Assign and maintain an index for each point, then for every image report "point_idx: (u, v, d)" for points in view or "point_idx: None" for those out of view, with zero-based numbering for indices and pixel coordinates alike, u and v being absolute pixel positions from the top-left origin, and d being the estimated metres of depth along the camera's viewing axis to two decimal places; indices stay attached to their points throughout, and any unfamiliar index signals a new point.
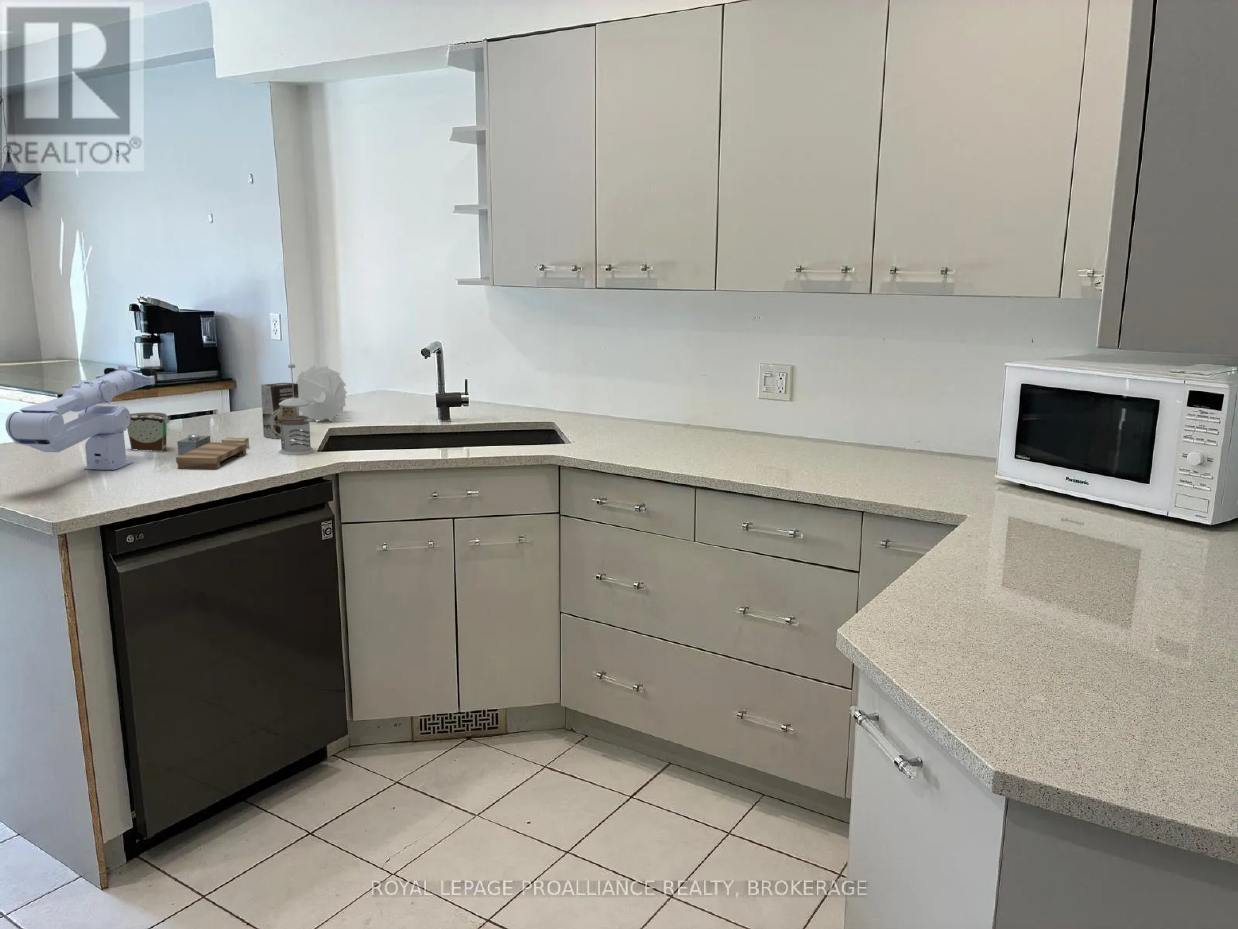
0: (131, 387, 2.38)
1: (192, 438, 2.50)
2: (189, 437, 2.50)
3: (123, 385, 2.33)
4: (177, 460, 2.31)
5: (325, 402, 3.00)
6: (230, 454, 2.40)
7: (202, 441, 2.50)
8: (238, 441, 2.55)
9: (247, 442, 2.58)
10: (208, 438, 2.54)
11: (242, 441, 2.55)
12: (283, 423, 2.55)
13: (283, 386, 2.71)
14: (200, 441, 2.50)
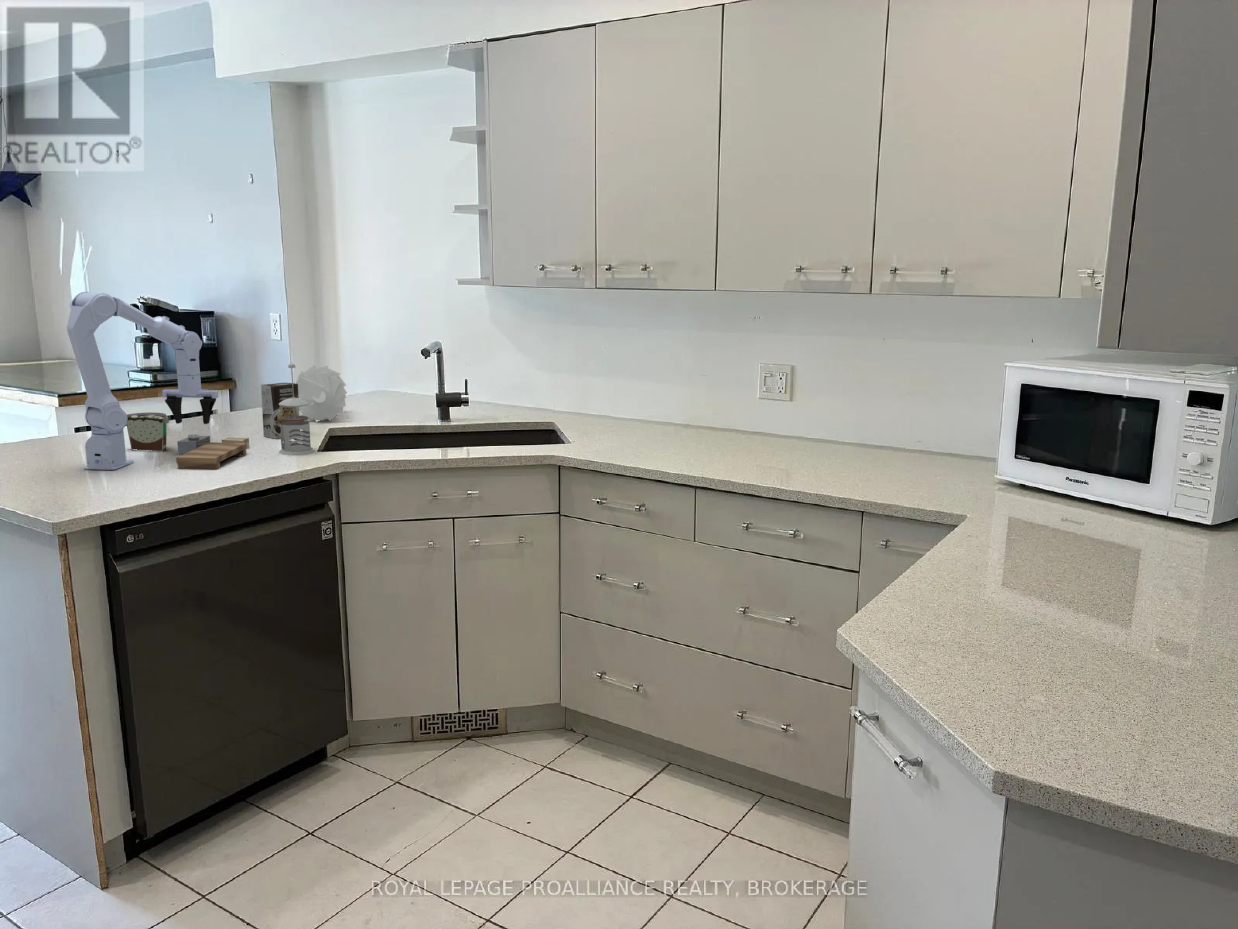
0: (195, 388, 2.46)
1: (192, 438, 2.50)
2: (189, 437, 2.50)
3: (193, 371, 2.45)
4: (177, 460, 2.31)
5: (325, 402, 3.00)
6: (230, 454, 2.40)
7: (202, 441, 2.50)
8: (237, 441, 2.55)
9: (247, 442, 2.58)
10: (208, 438, 2.54)
11: (241, 441, 2.55)
12: (283, 423, 2.55)
13: (283, 386, 2.71)
14: (200, 441, 2.50)
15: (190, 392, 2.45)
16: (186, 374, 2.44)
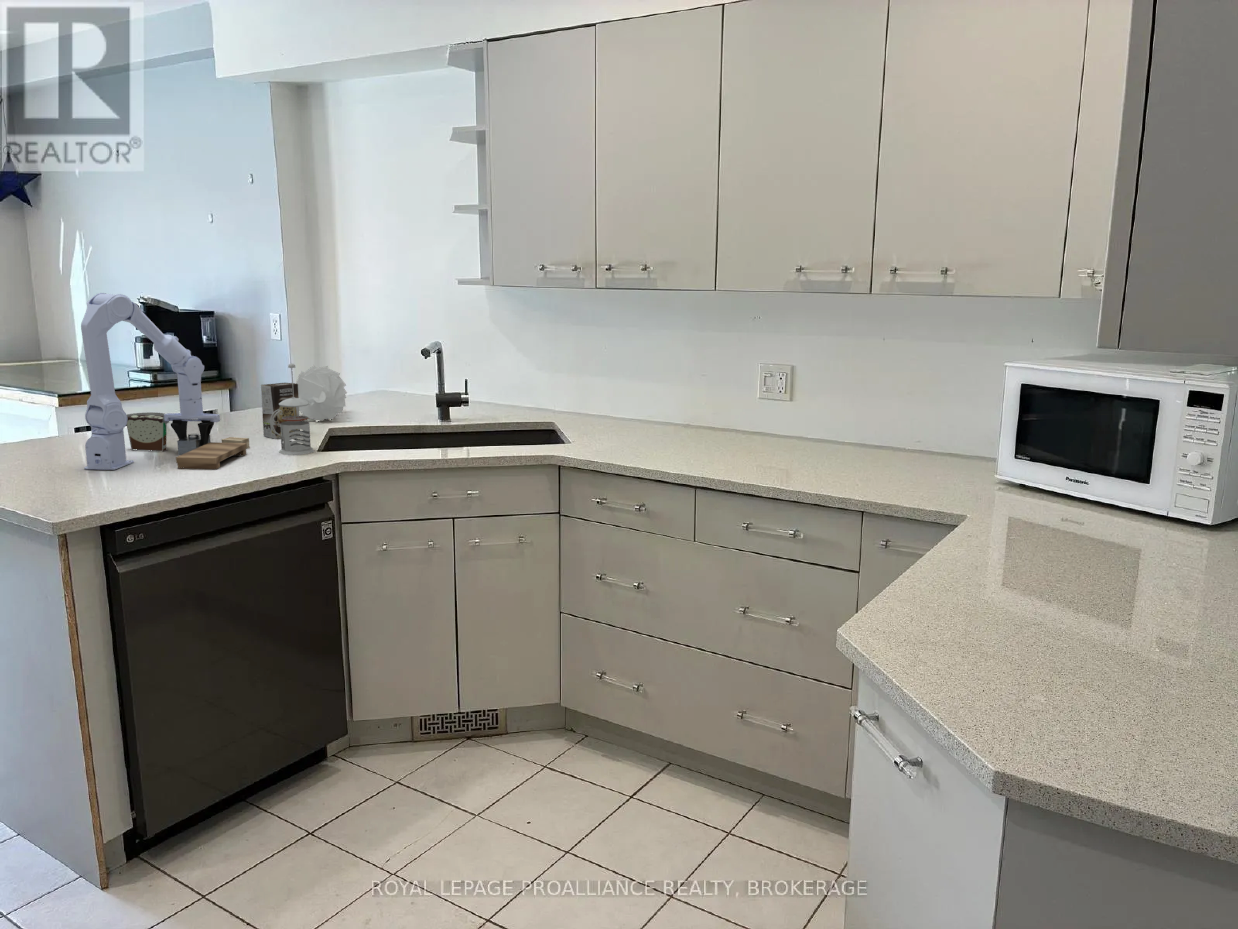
0: (197, 412, 2.48)
1: (192, 437, 2.50)
2: (189, 436, 2.50)
3: (195, 395, 2.47)
4: (177, 460, 2.31)
5: (325, 402, 3.00)
6: (230, 454, 2.40)
7: None
8: (236, 441, 2.55)
9: (247, 442, 2.58)
10: None
11: (240, 441, 2.55)
12: (283, 423, 2.55)
13: (283, 386, 2.71)
14: (200, 440, 2.50)
15: (192, 416, 2.47)
16: (188, 398, 2.46)
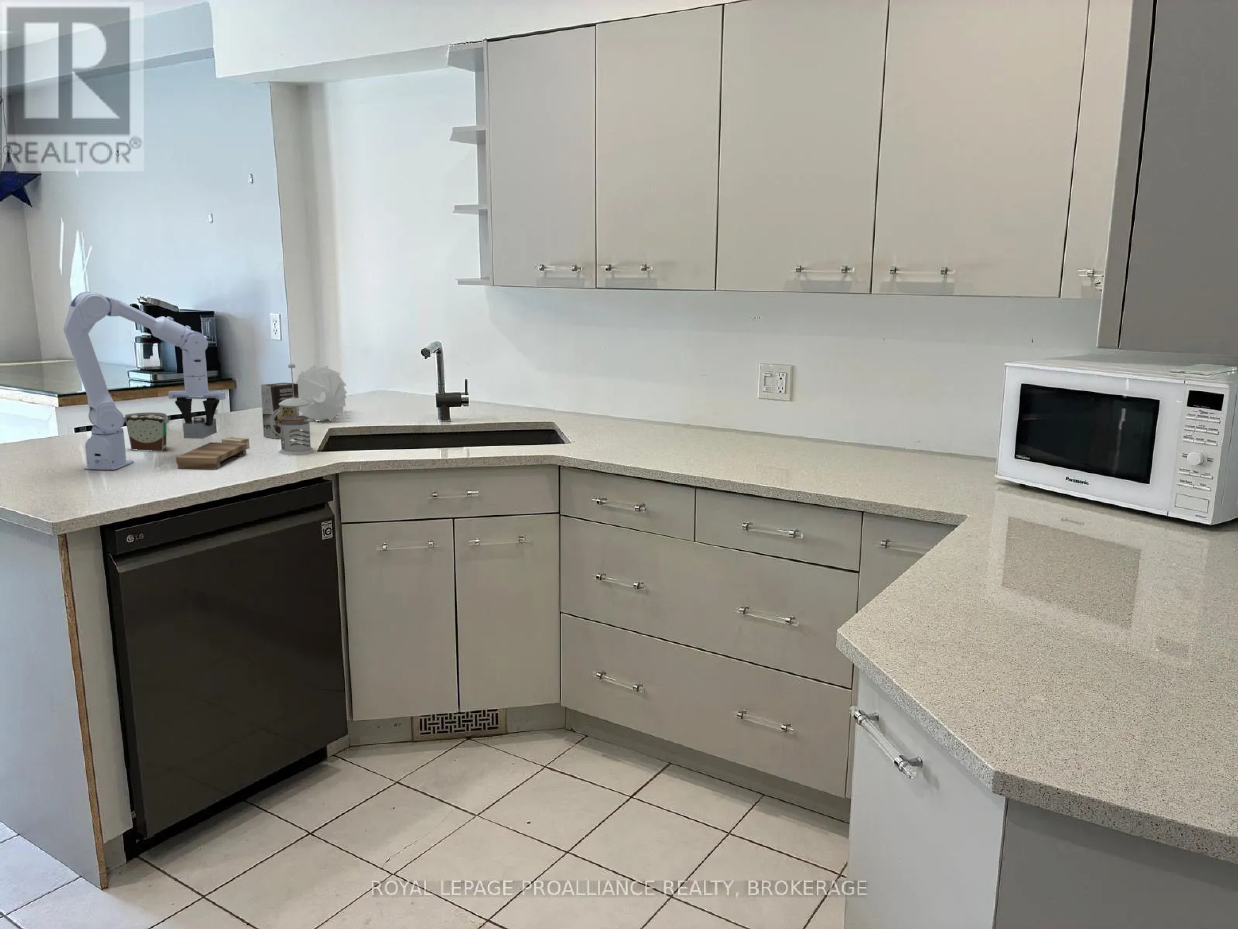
0: (202, 389, 2.42)
1: (198, 420, 2.45)
2: (195, 419, 2.45)
3: (198, 372, 2.41)
4: (177, 460, 2.31)
5: (325, 402, 3.00)
6: (230, 454, 2.40)
7: None
8: (235, 441, 2.55)
9: (246, 443, 2.57)
10: (214, 420, 2.49)
11: (238, 441, 2.55)
12: (283, 423, 2.55)
13: (283, 386, 2.71)
14: None
15: (197, 393, 2.41)
16: (190, 375, 2.40)
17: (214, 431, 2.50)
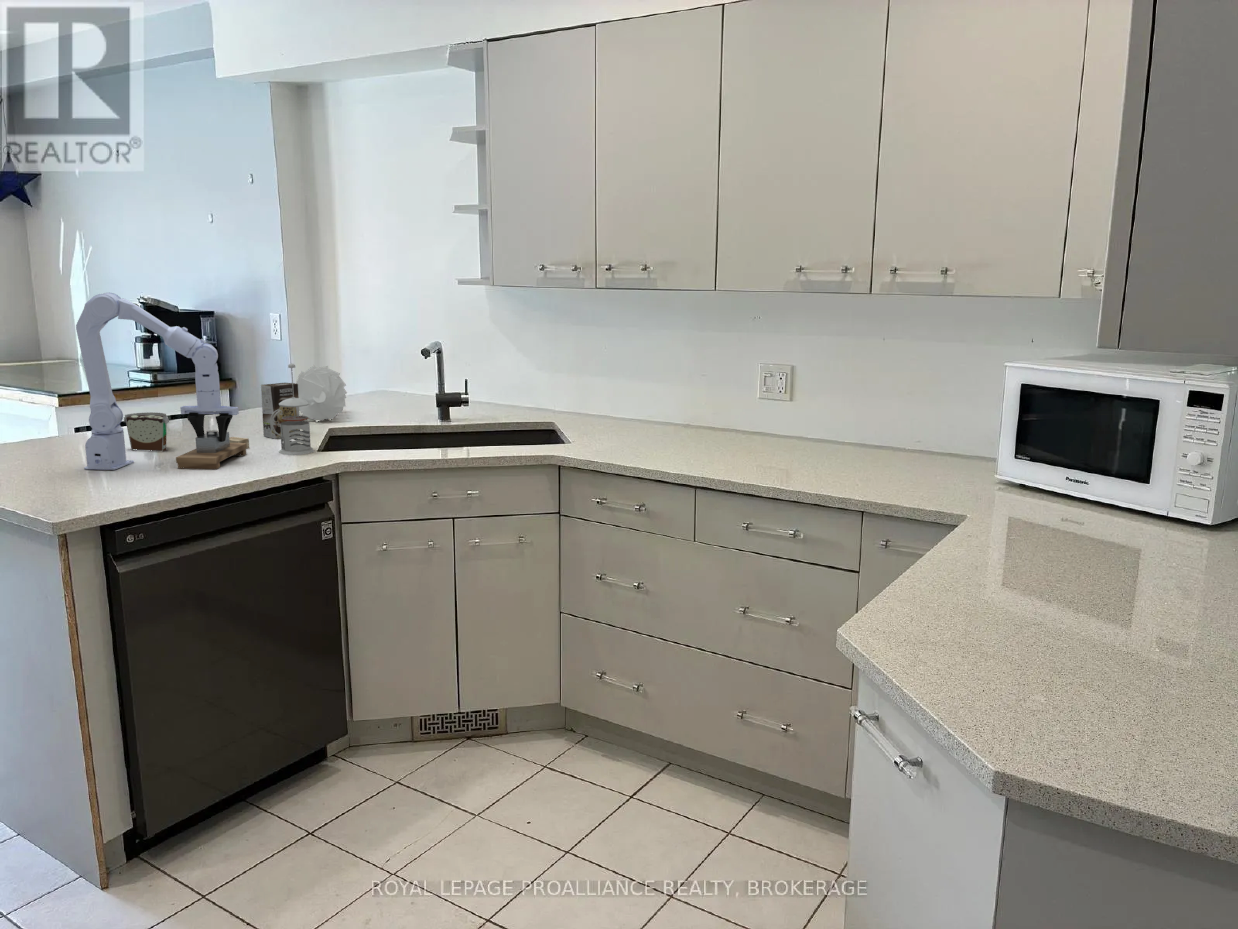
0: (215, 404, 2.36)
1: (211, 434, 2.39)
2: (207, 433, 2.39)
3: (206, 387, 2.34)
4: (177, 460, 2.31)
5: (325, 402, 3.00)
6: (230, 454, 2.40)
7: None
8: (234, 441, 2.55)
9: (246, 443, 2.57)
10: (227, 434, 2.44)
11: (237, 441, 2.54)
12: (283, 423, 2.55)
13: (283, 386, 2.71)
14: None
15: (210, 409, 2.35)
16: (199, 390, 2.34)
17: (227, 445, 2.44)
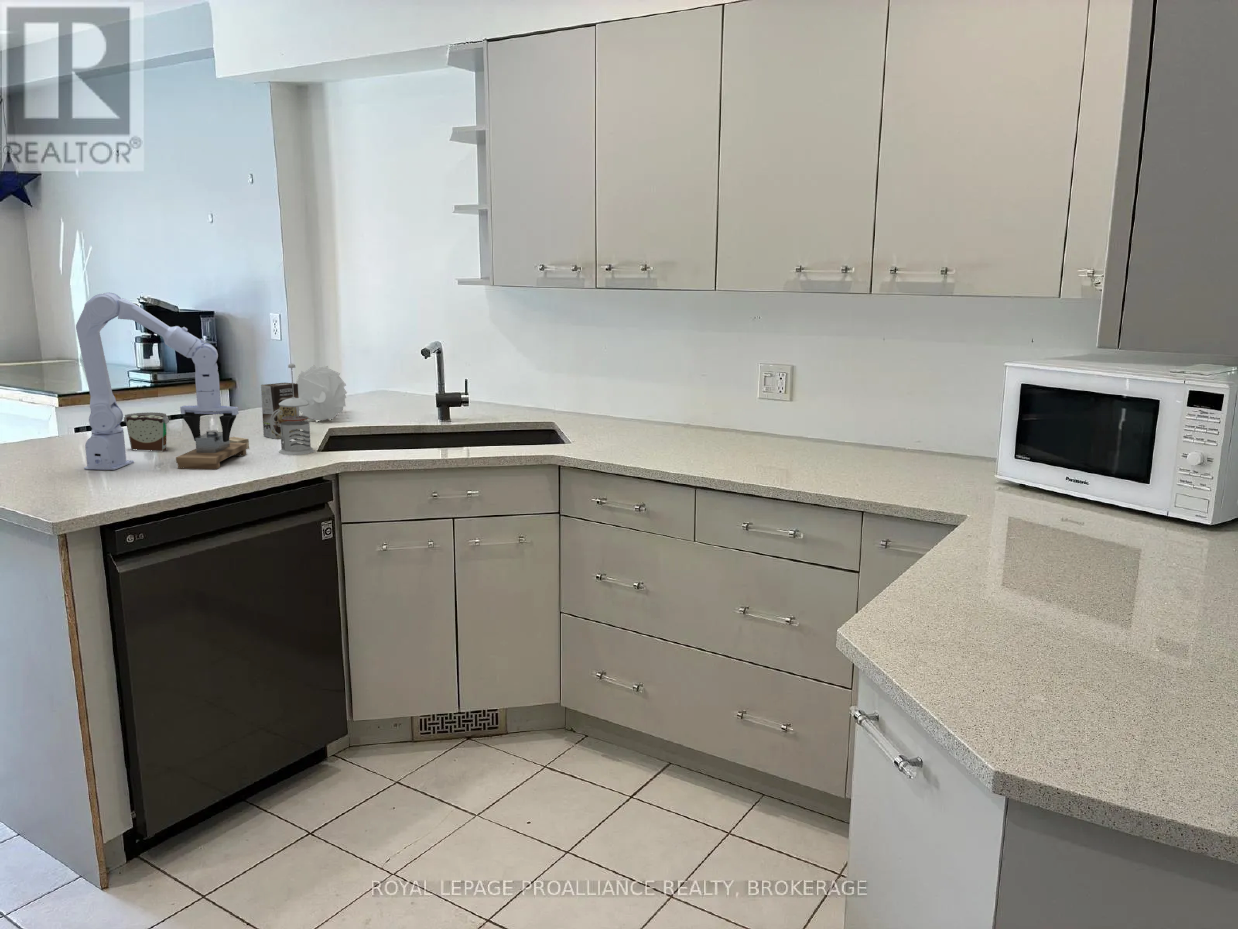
0: (215, 404, 2.36)
1: (210, 434, 2.39)
2: (207, 433, 2.39)
3: (206, 387, 2.34)
4: (177, 460, 2.31)
5: (325, 402, 3.00)
6: (230, 454, 2.40)
7: (220, 437, 2.40)
8: (233, 441, 2.55)
9: None
10: None
11: (236, 442, 2.54)
12: (283, 423, 2.55)
13: (283, 386, 2.71)
14: (219, 437, 2.39)
15: (209, 409, 2.35)
16: (199, 390, 2.34)
17: (227, 445, 2.44)
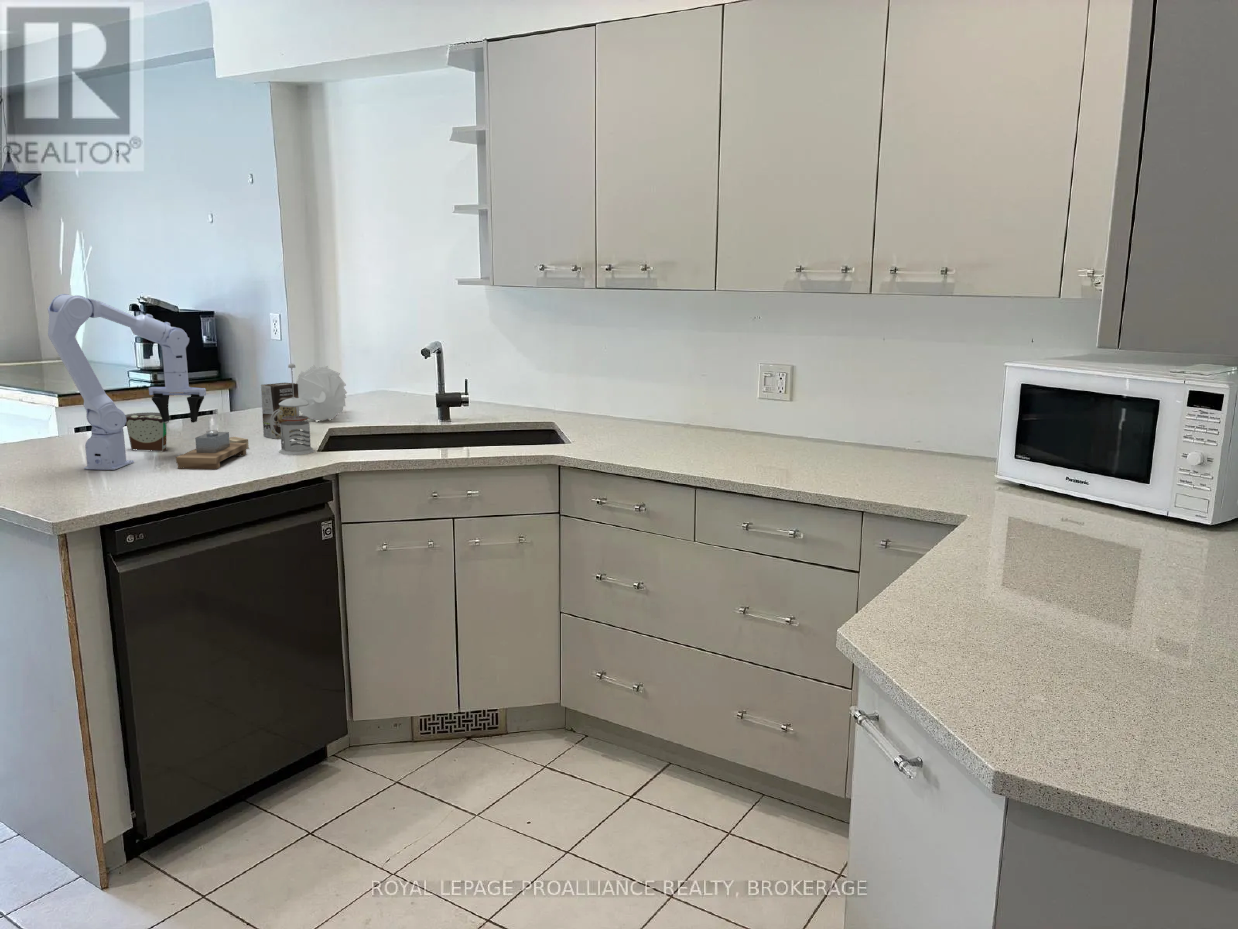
0: (182, 385, 2.41)
1: (210, 434, 2.39)
2: (207, 433, 2.39)
3: (180, 368, 2.40)
4: (177, 460, 2.31)
5: (325, 402, 3.00)
6: (230, 454, 2.40)
7: (220, 437, 2.40)
8: (232, 441, 2.55)
9: None
10: (227, 434, 2.44)
11: (235, 442, 2.54)
12: (283, 423, 2.55)
13: (283, 386, 2.71)
14: (219, 437, 2.39)
15: (177, 390, 2.40)
16: (172, 371, 2.39)
17: (227, 445, 2.44)
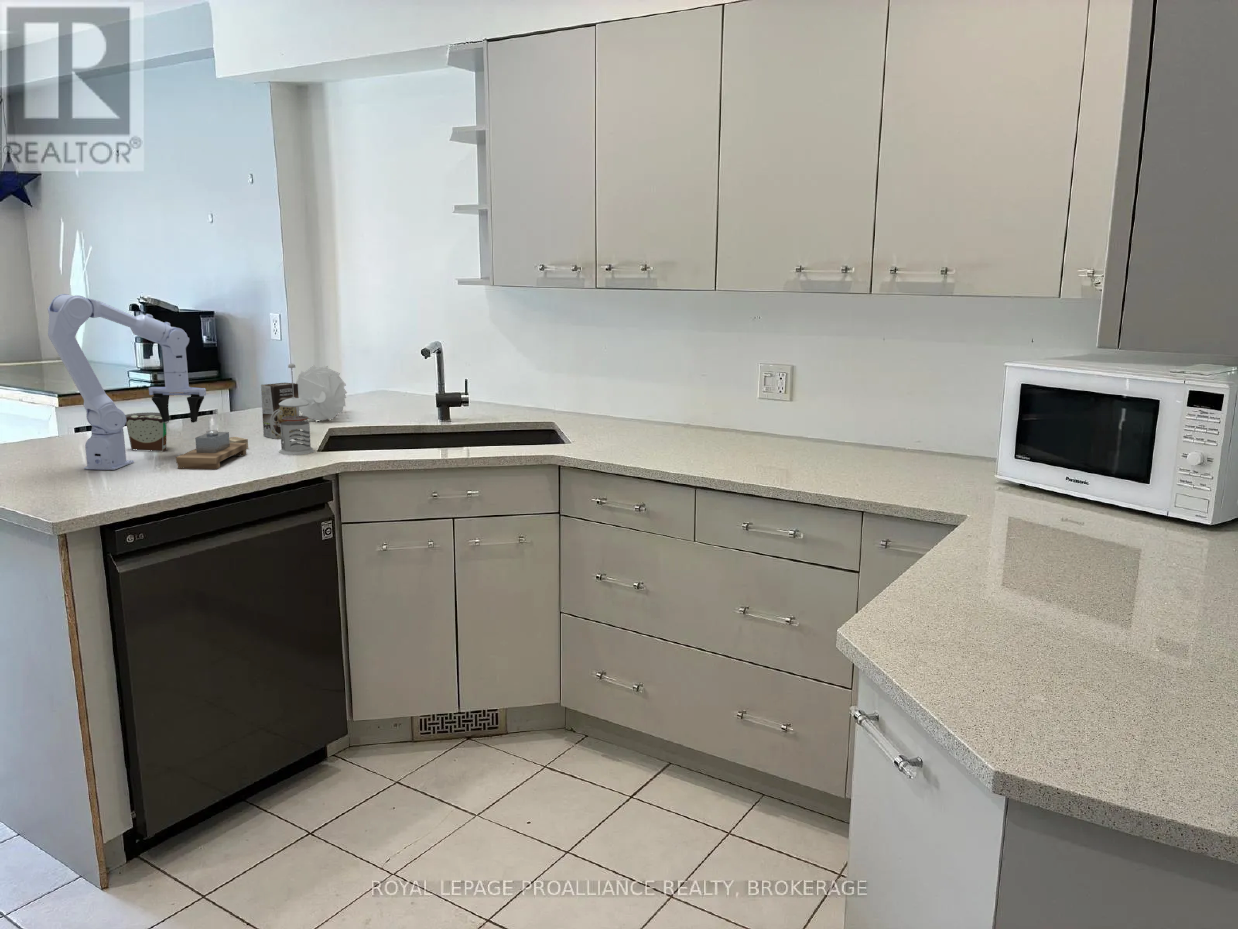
0: (182, 385, 2.41)
1: (210, 434, 2.39)
2: (207, 433, 2.39)
3: (180, 368, 2.40)
4: (177, 460, 2.31)
5: (325, 402, 3.00)
6: (230, 454, 2.40)
7: (220, 437, 2.40)
8: (232, 441, 2.55)
9: None
10: (227, 434, 2.44)
11: (234, 442, 2.54)
12: (283, 423, 2.55)
13: (283, 386, 2.71)
14: (219, 437, 2.39)
15: (177, 390, 2.40)
16: (172, 371, 2.39)
17: (227, 445, 2.44)
